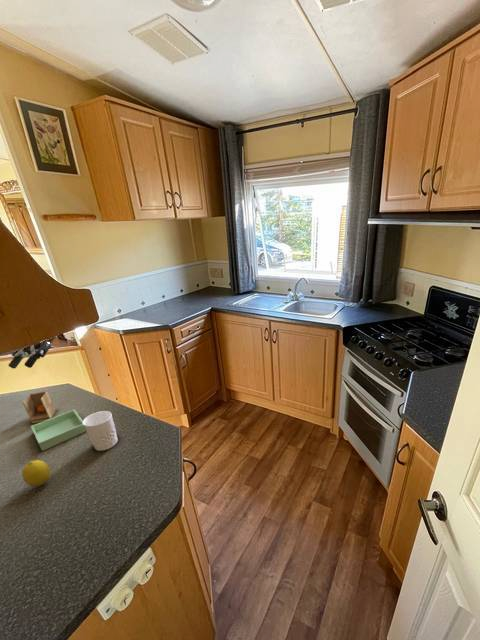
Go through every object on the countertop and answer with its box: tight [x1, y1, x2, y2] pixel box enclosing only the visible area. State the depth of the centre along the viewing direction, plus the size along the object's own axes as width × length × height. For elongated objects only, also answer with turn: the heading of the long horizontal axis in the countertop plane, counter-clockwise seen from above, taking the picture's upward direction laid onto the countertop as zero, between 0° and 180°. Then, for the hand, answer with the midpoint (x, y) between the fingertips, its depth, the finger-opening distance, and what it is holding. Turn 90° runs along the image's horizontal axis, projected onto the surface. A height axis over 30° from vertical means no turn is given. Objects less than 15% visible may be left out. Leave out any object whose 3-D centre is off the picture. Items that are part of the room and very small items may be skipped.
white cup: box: [82, 410, 119, 452], centre depth 91 cm, size 8×8×10 cm
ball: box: [37, 405, 46, 413], centre depth 108 cm, size 3×3×3 cm
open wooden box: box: [22, 390, 56, 424], centre depth 107 cm, size 6×6×9 cm
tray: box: [30, 409, 87, 452], centre depth 99 cm, size 13×13×3 cm
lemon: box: [21, 459, 51, 487], centre depth 77 cm, size 6×6×8 cm
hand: (19, 366), depth 101 cm, fingers open, 8 cm apart
